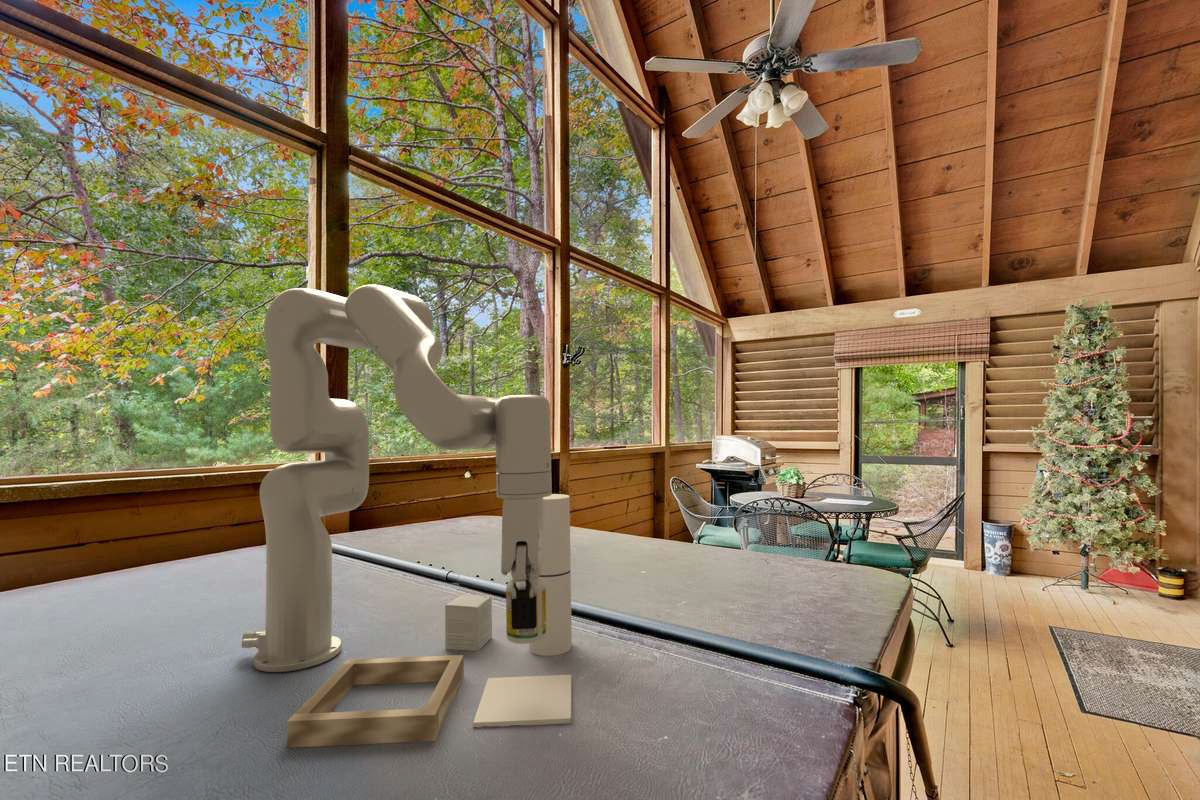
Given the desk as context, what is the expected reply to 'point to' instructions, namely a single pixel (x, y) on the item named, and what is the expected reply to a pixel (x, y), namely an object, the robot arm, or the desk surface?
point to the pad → (525, 701)
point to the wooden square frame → (377, 726)
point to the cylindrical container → (556, 576)
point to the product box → (468, 622)
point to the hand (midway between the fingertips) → (526, 618)
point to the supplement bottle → (540, 631)
